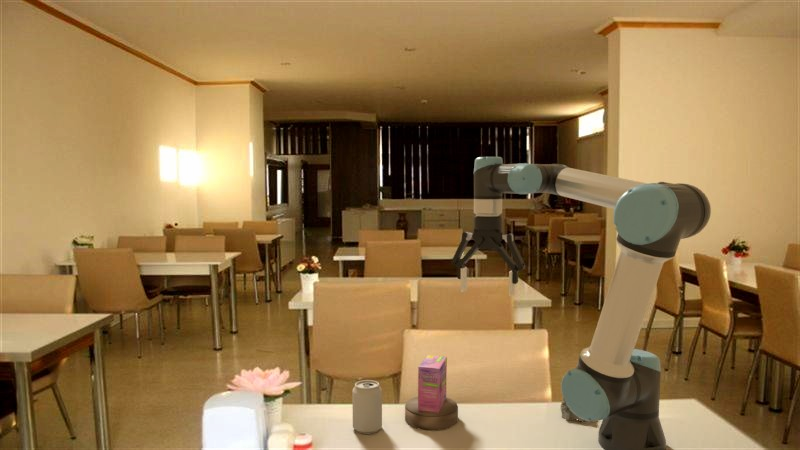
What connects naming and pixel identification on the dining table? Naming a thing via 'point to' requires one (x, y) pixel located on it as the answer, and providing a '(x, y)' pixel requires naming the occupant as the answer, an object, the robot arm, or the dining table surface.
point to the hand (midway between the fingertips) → (487, 293)
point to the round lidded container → (431, 416)
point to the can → (367, 406)
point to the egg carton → (568, 414)
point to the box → (432, 383)
